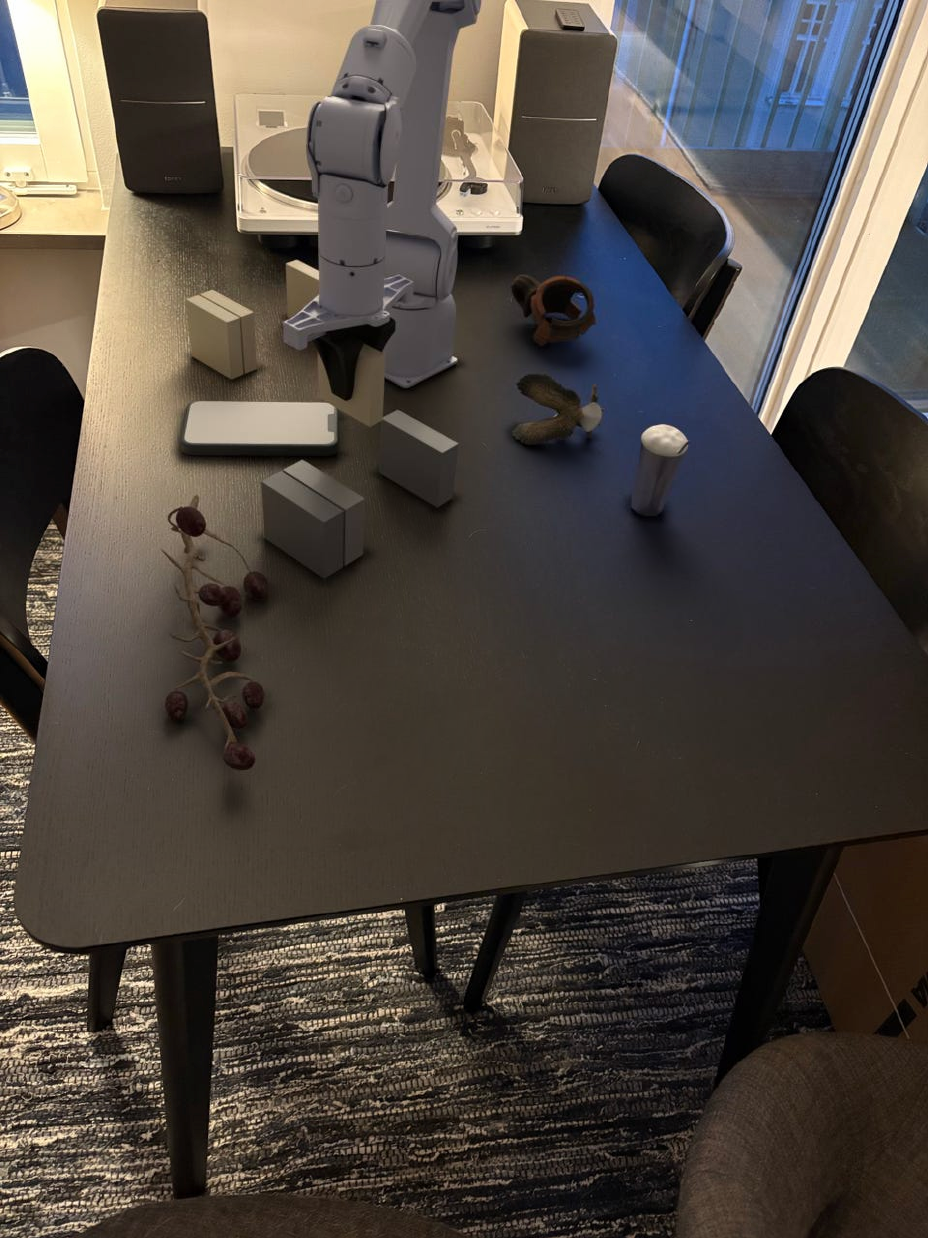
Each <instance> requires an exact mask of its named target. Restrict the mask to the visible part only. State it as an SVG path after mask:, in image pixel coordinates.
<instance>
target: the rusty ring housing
mask: <svg viewBox="0 0 928 1238" xmlns="http://www.w3.org/2000/svg"><path fill="white" fill-rule="evenodd" d="M510 288H511V293H512V296H513V298H514V300H515V301H516V303H517V304H518V305H519V306H520V307H521V310H522V313H523V318H527V319H528V317H529V316H531V315H532V317H533V319H534V321H535V323H536V325H537V328H536V330H535V332H534V333H533V334H532V339H533V341H534V342H535V343H536V344H537V345H539V346H540V347H544V346H545V345H546V344H548V343H550V344H554V343H561V342H562V343H563V342H567V341H572V340H577V339H579V337H580V335H584V334H586V333H587V332H588V331H589V329H590V328H591V327H592V326H595V325H596V322H597V321H596V315H595V313H594V309H595V307H596V304H595V302H594V301H595V299H594V294H593V292H592V291H591V290H590V289H589V287H588V286H587V285H586V284H585V283H583V282H581V281H580V280H578V279H577V278H574V277H571V276H565V275H558V276H553V277H550V278H548V279H545V281H544V282H541V281H539V280H537V279H536V278H534V277H533V276H531V275H527V274H520V275H517V276H516V277H515V278H514V279H513V281H512V283H511V284H510ZM575 294H582V295H583V297H584V299H585V301H586V310H585V312H584V314H583V315H581V314H582V313H583V311H582V309H581V308H580V306H578V305H577V304H576V303H575V302H573V301H572V298H573V296H574V295H575ZM556 313H557V314H562V315H564V316H566V317H567V318H569V319H570V320H560V319H557V318H555V317H552V318H551V323H550V322H549V321H547V319H546V318H545V316H546V315H547V314H556Z"/></svg>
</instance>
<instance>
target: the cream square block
mask: <svg viewBox="0 0 928 1238" xmlns="http://www.w3.org/2000/svg"><path fill="white" fill-rule="evenodd" d="M384 374H385V354H383V353H381V352H380V351H378V350H376V349H374V348H372V347H370V346H368V345H366V344H364V345H363V347H362V349H361V351H360V354H359V357H358V360H357V364H356V369H355V379H354V390H353V394H352V397H351V399H350V400H348V401H344V400H343V399H341V398H339V397H337V396H336V395H334V394H332V392H331V388H330V384H329V380H328V377H327V374H326V370H325V367H324V365H323V362H322V360H321V357H320V355H319V353H318V352H317V397H318V399H320V400H322V401H323V402H327V403H329V404H331V405H332V406H334V407H336V408H338V411H341V412H343V413H345V414H346V415H348V416H350V417H351V418H353V419H355V420H357V421H358V422H360V423H362V424H364V425H365V426H367V427H369V428H371V427H372V426H375V425H376V424H379V423H381V421H382V420H383V417H384V395H385V394H384V393H385V378H384Z"/></svg>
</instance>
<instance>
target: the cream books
mask: <svg viewBox="0 0 928 1238" xmlns="http://www.w3.org/2000/svg"><path fill="white" fill-rule="evenodd" d="M285 277H286V278H285V279H286V281H285V282H286V283H285V284H286V313H287V315H286V316H287V319H288V320H289V319H290V318H292V317H294V316H295V315H296V314H298V313H299V312H300V311H301V310H302V309H303V308H304V307H305V306H307V305H308V304H309V303H310V302H311V301H312V300H313V299H314V298H316V297H317V296H318V295H319V269H316V268H314V267H312V266H310V265H308V264H306V263H304V262H303V261H300V260H299V259H295V260H293V261H289V262H286V263H285ZM185 306H186V307H185V308H186V315H187V325H188V333H189V342H190V343H189V344H190V352H191V356H192V357H193V358H194V359H195V360H197V361H199V362H201V363H203V364H204V365H206V366H208V367H210V368H211V369H213V370H214V371H216V372H218V373H219V374H221V375H223V376H224V377H226V378H228V379H230V380H234V379H237V378H239V377H241V376H243V375H246V374H249V373H250V372H253V371H255V370H257V369H258V362H257V345H256V344H257V343H256V328H255V313H254V311H252V310H251V309H249V308H247V307H246V306H243V305H241V304H240V303H238V302H236V301H234V300H233V299H230V298H229V297H227V296H225V295H223V294H222V293H220V292H218V291H216V290H214V289H210V290H208V291H205V292H202V293H200V294H197V295H193V296H191V297H188V298H186V299H185Z"/></svg>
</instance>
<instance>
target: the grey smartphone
mask: <svg viewBox="0 0 928 1238" xmlns="http://www.w3.org/2000/svg"><path fill="white" fill-rule="evenodd" d="M339 422H340V421H339V409H338V408H336V407H334V406H332V405H331V404H329V403H327V402H325V401H260V400H259V401H258V400H256V401H255V400H254V401H253V400H250V401H249V400H248V401H247V400H194V401H191V402H190V403H188V404H187V405H186V407H185V412H184V417H183V421H182V428H181V433H180V438H179V444H180V449H181V451H182V452H183V453H184V454H185V455H189V456H261V457H265V456H268V457H269V456H270V457H271V456H273V457H276V456H277V457H278V456H279V457H280V456H282V457H284V456H285V457H289V456H290V457H291V456H292V457H307V456H308V457H329V456H333V455H335V454H337V453H338V452H339V450H340V430H339V429H340V428H339V427H340V426H339V425H340V424H339Z"/></svg>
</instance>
